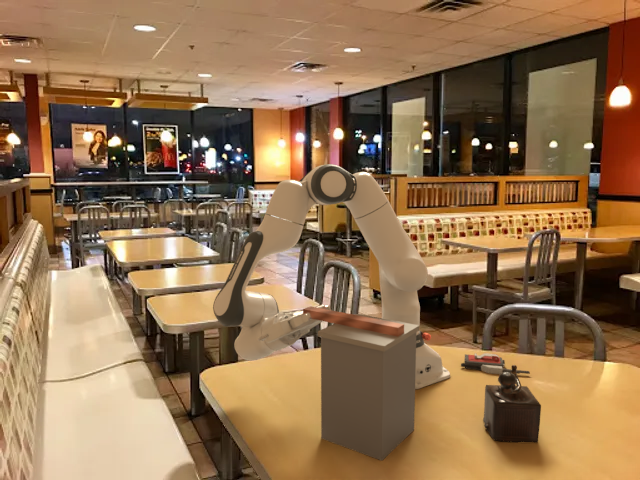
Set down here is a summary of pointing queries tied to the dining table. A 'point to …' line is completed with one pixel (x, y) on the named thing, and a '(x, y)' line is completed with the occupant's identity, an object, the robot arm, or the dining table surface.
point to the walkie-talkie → (487, 363)
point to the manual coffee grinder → (511, 410)
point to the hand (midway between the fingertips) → (319, 312)
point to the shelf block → (367, 387)
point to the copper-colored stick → (355, 321)
